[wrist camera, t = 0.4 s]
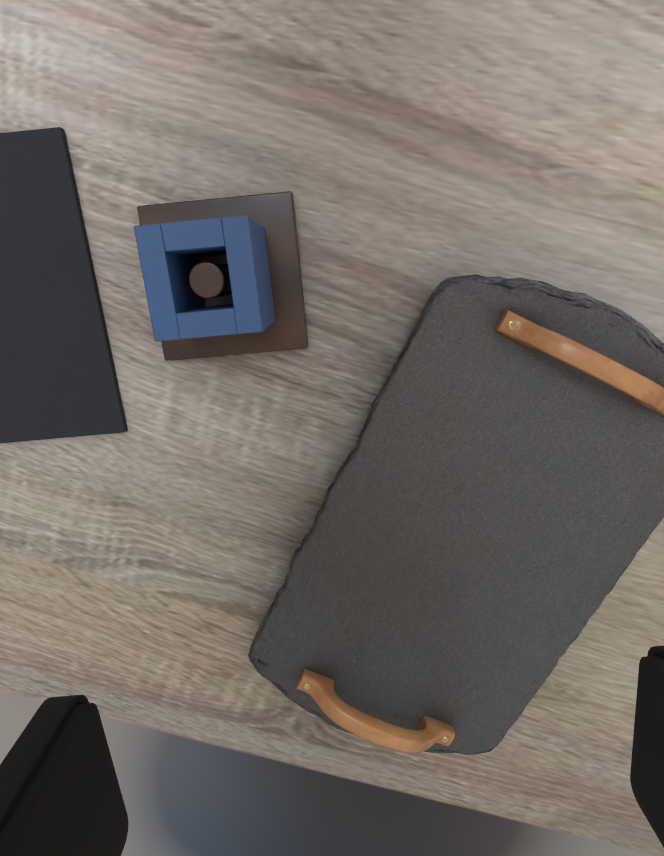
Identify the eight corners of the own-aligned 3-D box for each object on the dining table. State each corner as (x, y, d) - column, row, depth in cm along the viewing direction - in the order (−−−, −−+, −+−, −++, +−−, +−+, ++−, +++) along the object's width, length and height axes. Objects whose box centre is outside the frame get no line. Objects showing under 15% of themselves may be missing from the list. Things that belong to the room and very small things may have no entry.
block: (172, 236, 33) (133, 225, 27) (264, 227, 33) (247, 214, 27) (188, 329, 35) (154, 341, 28) (275, 321, 35) (262, 332, 28)
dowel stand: (141, 208, 34) (99, 192, 28) (292, 193, 34) (284, 174, 27) (169, 358, 37) (136, 375, 30) (308, 346, 36) (303, 360, 30)
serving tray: (465, 753, 47) (485, 822, 41) (231, 663, 44) (216, 723, 38) (731, 376, 37) (808, 395, 31) (453, 229, 34) (479, 219, 28)
